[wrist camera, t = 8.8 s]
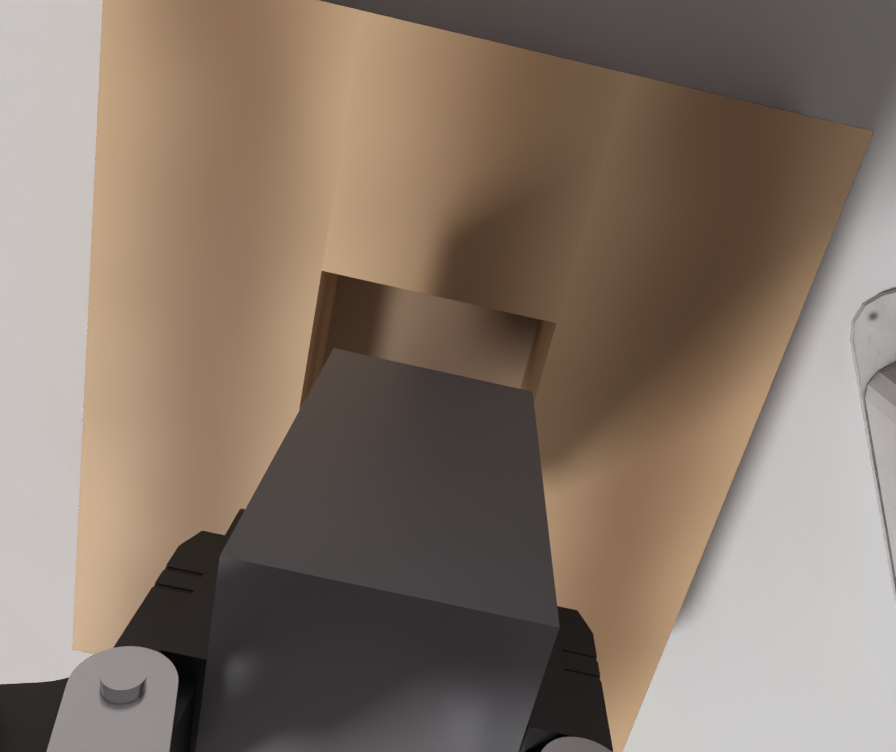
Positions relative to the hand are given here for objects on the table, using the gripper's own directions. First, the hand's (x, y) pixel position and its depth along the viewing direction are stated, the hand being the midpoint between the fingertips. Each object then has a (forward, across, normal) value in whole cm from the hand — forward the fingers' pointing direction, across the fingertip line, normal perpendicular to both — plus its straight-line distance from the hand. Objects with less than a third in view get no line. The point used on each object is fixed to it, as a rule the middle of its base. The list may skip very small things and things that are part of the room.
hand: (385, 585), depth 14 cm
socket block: (+10, 0, 0) cm, 10 cm away
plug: (+3, 0, 0) cm, 3 cm away
